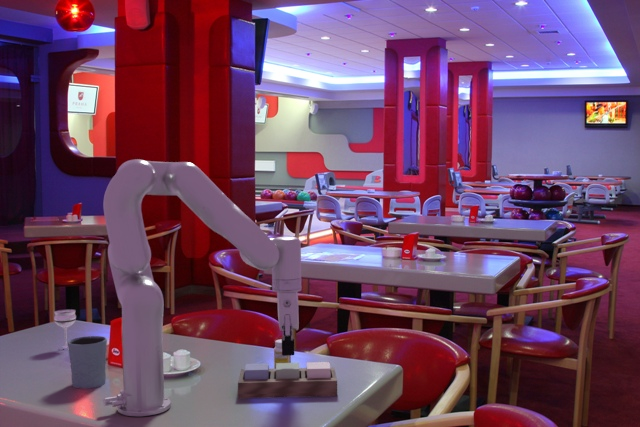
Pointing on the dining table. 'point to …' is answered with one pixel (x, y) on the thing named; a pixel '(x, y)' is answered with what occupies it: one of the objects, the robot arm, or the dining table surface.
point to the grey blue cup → (88, 361)
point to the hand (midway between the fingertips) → (288, 354)
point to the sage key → (287, 370)
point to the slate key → (257, 371)
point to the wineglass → (65, 320)
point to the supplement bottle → (280, 354)
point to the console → (287, 386)
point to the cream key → (318, 370)
